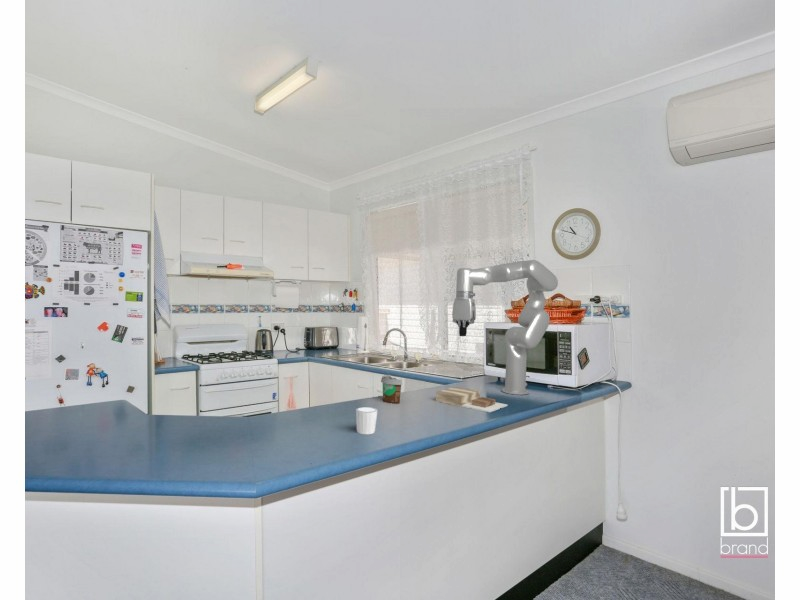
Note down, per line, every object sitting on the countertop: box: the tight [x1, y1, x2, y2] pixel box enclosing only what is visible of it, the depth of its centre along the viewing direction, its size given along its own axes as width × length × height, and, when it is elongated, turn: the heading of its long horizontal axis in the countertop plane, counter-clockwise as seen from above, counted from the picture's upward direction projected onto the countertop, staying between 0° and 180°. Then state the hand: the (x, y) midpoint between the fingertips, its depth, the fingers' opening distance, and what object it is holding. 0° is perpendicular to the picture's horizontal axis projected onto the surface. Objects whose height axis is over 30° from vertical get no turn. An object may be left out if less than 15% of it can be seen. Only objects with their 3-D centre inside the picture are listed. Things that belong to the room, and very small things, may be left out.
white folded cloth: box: [461, 401, 508, 413], centre depth 180 cm, size 16×12×1 cm
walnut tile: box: [472, 396, 496, 408], centre depth 181 cm, size 9×6×2 cm, turn 141°
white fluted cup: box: [355, 406, 379, 435], centre depth 139 cm, size 7×7×7 cm
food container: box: [380, 374, 403, 405], centre depth 181 cm, size 12×6×10 cm, turn 25°
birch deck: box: [435, 386, 481, 407], centre depth 188 cm, size 16×12×4 cm
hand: (462, 335), depth 199 cm, fingers closed
